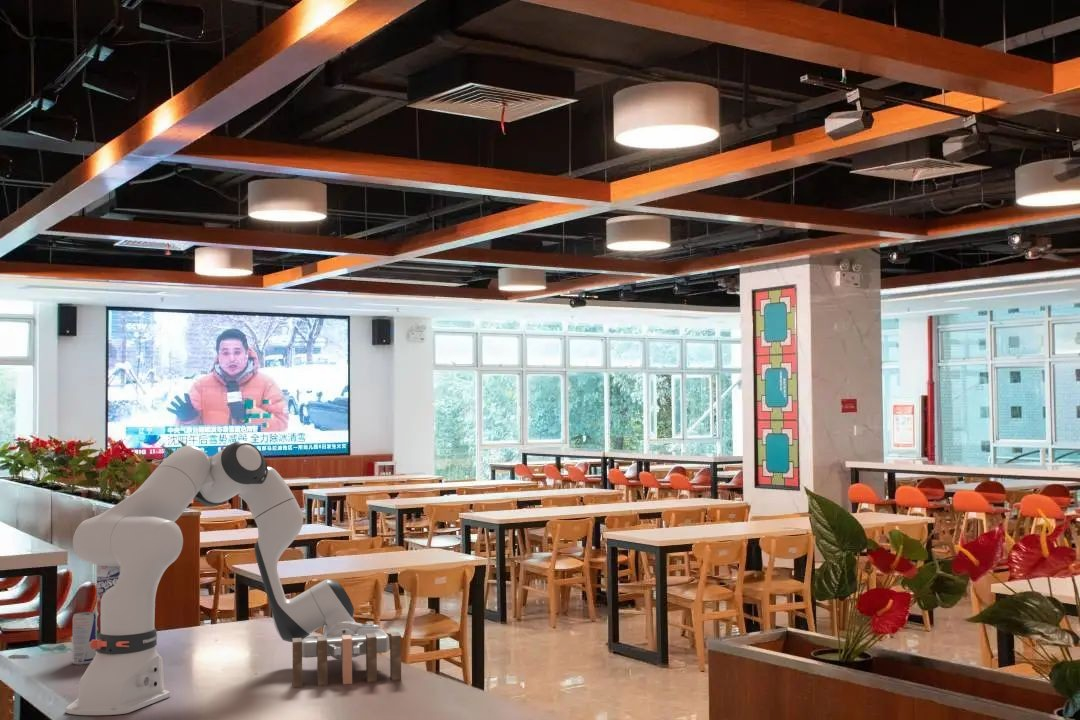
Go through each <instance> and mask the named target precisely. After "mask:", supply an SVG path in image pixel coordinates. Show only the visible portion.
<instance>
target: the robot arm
mask: <svg viewBox="0 0 1080 720" xmlns="http://www.w3.org/2000/svg"><path fill="white" fill-rule="evenodd" d="M237 495H238V497H239V498H241V499H242V500H243V501H244V502H245V503H246V504H247V507H248V509H249V511H250V514H251V515H252V517H253V520H254V523H255V524H256V526H257V533H258V537H257V541H256V542H255V544H254V555H255V560H256V563H257V566H258V571H259V574H260V576H261V579H262V583H263V587H264V591H265V592H266V593H265V594H266V596H267V599H268V602H269V606H270V609H271V614H272V619H273V620H272V621H273V625H274V628H275V632H276V633H277V635H278V636H279V637H280V638H281V639H282V641H285V642H288V643H292V638H302V658H306V659H307V658H317V637H321V636H326V638H327V657H332V658H334V659H335V660H337V661H342V635H351V638H352V658H357V657H360V656H364V655H365V656H366V634H370V633H375V635H376V637H377V654H383V653H384V654H385V653H389V652H390V635H389V634H388V633H387V632H386V631H385V630H383V629H381V627H380V625H379V624H374V623H373V624H372V623H370V624H369V623H360V622H356V620H355V618H354V612H355V607H354V605H353V603H352V600H351V599H350V596H349V595H348V592H346V589H345V588H344V587H343V586H342V585H341V583H339V582H338V581H336V580H333V579H330V578H329V579H328V578H326V579H324V580H322V581H319V582H318V583H317V584H314V585H313V586H311V587H309V588H308V589H306V590H305V591H303V592H301V593H299V594H298V595H296V596H294V597H291V598H286V595H285V591H284V588H283V585H282V582H281V579H280V576H279V573H278V562H279V561H280V558H281V556H282V555H283V554H284V552H285V551H286V550H287V549H288V548H289V546H291V544H292V543H294V541H295V539H296V538H297V537H298V535H299V534H300V532H301V531H302V528H303V524H304V515H303V512H302V509H301V507H300V505H299V503H298V501H297V499H296V497H295V495H294V493H293V492H292V490H291V489H290V486H288V484H287V482H286V481H285V479H284V478H283V477H282V476H281V474H280V473H279V472H278V471H277V470H276V469H275V468H273V467H271V466H268V463H267V460H266V459H265V457H264V455H263V454H262V452H261V451H260V450H259V448H257V447H256V446H255V445H254V444H252V442H251V443H250V441H245V440H239V441H235V442H233V443H230V444H228V445H226V446H225V447H223V449H222V450H220V451H217V453H215V454H214V455H212V456H211V455H208V454H207V453H206V452H205V451H204V450H203V449H201V448H200V447H197V446H194V445H183V446H181V447H179V448H177V449H176V450H174V451H173V452H172V453H170V454H169V455H168V456H167V457H166V458H165V459H163V460H162V462H161V463H160V464H158V466H157V467H155V469H154V470H153V472H152V473H151V474H150V475H149V476H148V477H147V478H146V480H145V481H144V482H143V483H142V484H141V485H140V486H139V487H138V488H137V489H136V490H135V491H134V492H133V493H132V494H130V495H129V496H127V497H126V498H124V499H123V500H121V501H120V502H118V503H117V504H115V505H114V506H112V507H110V508H109V509H108V510H106V511H103V512H102V513H99V514H98V515H96V516H93V517H91V518H90V517H89V518H87V519H85V520H83V521H82V522H80V523H79V524H78V526H77V527H76V529H75V532H74V534H73V539H72V548H73V550H74V554H75V556H77V558H78V559H79V560H81V561H82V562H86V563H89V564H91V565H95V566H97V565H99V566H116V567H120V575H119V578H118V581H117V583H116V584H115V585H114V586H113V587H111V588H109V589H108V590H107V591H106V592H105V593H104V594H103V596H102V598H101V632H100V633H99V635H98V639H97V638H96V639H92V640H91V641H92V642H91V643H90V647H92V648H91V649H96V655H95V657H94V658H93V660H92V662H91V663H90V664H88V666H87V668H86V670H85V672H84V673H83V675H82V676H81V678H80V680H79V682H78V687H77V688H78V689H77V698H76V699H75V700H74V701H73V702H71V703H70V704H69V705H68V706H66V707H65V709H64V710H65V714H66V713H67V714H69V715H78V716H112V715H123V714H124V715H125V714H129V713H132V712H134V711H137V710H139V709H141V708H144V707H147V706H149V705H151V704H155V703H157V702H160V701H162V700H165V699H168V698H170V697H171V695H170V693H171V692H170V691H169V690H167V689H166V688H165V680H164V679H165V678H164V666H163V657H162V656H161V655H160V654H159V653H158V651H157V648H156V646H157V644H158V634H157V633H158V632H157V629H156V628H155V613H156V611H155V610H156V609H155V608H156V598H157V597H156V595H157V590H158V587H159V583H160V581H161V579H162V577H163V575H164V573H165V572H166V570H167V569H168V567H170V566H171V565H172V564H173V563H174V562H175V561H177V559H178V558H179V556H180V555H181V552H182V550H183V545H184V537H183V533H182V530H181V528H180V526H179V525H178V524H177V522H176V521H177V520H178V519H179V518H180V517H181V516H182V514H183V513H184V511H185V510H186V509H187V508H188V507H189V505H190V504H191V503H192V501H193V500H195V501H196V502H198V503H199V504H201V505H203V506H205V507H208V508H209V507H210V508H212V507H213V508H214V507H218V506H221V505H223V504H225V503H227V502H228V501H229V500H230V499H232V498H234V497H235V496H237ZM322 628H323V629H322ZM319 629H322V635H314V636H310V634H312V633H314V632H317V630H319Z"/></svg>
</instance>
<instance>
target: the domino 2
mask: <svg viewBox="0 0 1080 720" xmlns="http://www.w3.org/2000/svg"><path fill="white" fill-rule="evenodd" d="M320 636H321V637H317V657H316V659H317V661H316V662H317V663H316V667H317V670H316V673H317V676H316V677H317V686H318V687H323V686H325V687H327V686H328V656H327V638H326V636H323V635H320Z"/></svg>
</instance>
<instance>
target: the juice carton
mask: <svg viewBox="0 0 1080 720" xmlns="http://www.w3.org/2000/svg"><path fill="white" fill-rule="evenodd" d="M119 575H120V567H116V566H99V565H96V640H97V639H98V635H99V633H100V632H101V598H102V596H103V594H104V593H105V592H106V591H107V590H108V589H109V588H111V587H113V586H114V585H115V584H116V583H117V581H118V578H119Z"/></svg>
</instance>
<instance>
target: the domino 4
mask: <svg viewBox="0 0 1080 720" xmlns="http://www.w3.org/2000/svg"><path fill="white" fill-rule="evenodd" d="M377 656H378V653H377V637H376V635H375V633H370V634H366V654H365V661H366V662H365V666H366V667H365V671H366V672H365V673H366V677H365V678H366V681H367V683H377V682H378V666H377V665H378V663H377V662H378V658H377Z"/></svg>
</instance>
